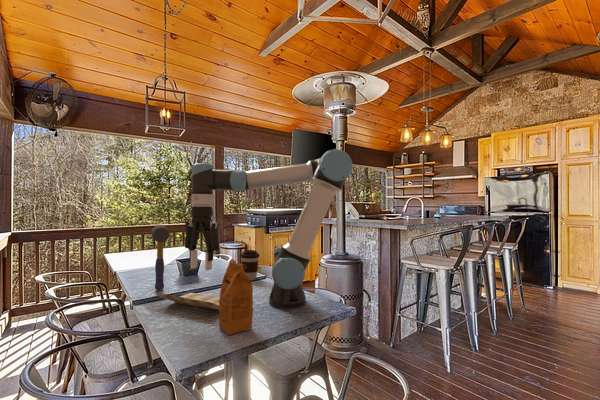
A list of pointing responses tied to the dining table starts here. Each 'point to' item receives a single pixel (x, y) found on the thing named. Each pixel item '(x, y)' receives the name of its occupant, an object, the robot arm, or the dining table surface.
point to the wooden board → (201, 298)
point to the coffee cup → (250, 263)
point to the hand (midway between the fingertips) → (201, 268)
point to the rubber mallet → (159, 253)
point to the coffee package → (235, 300)
